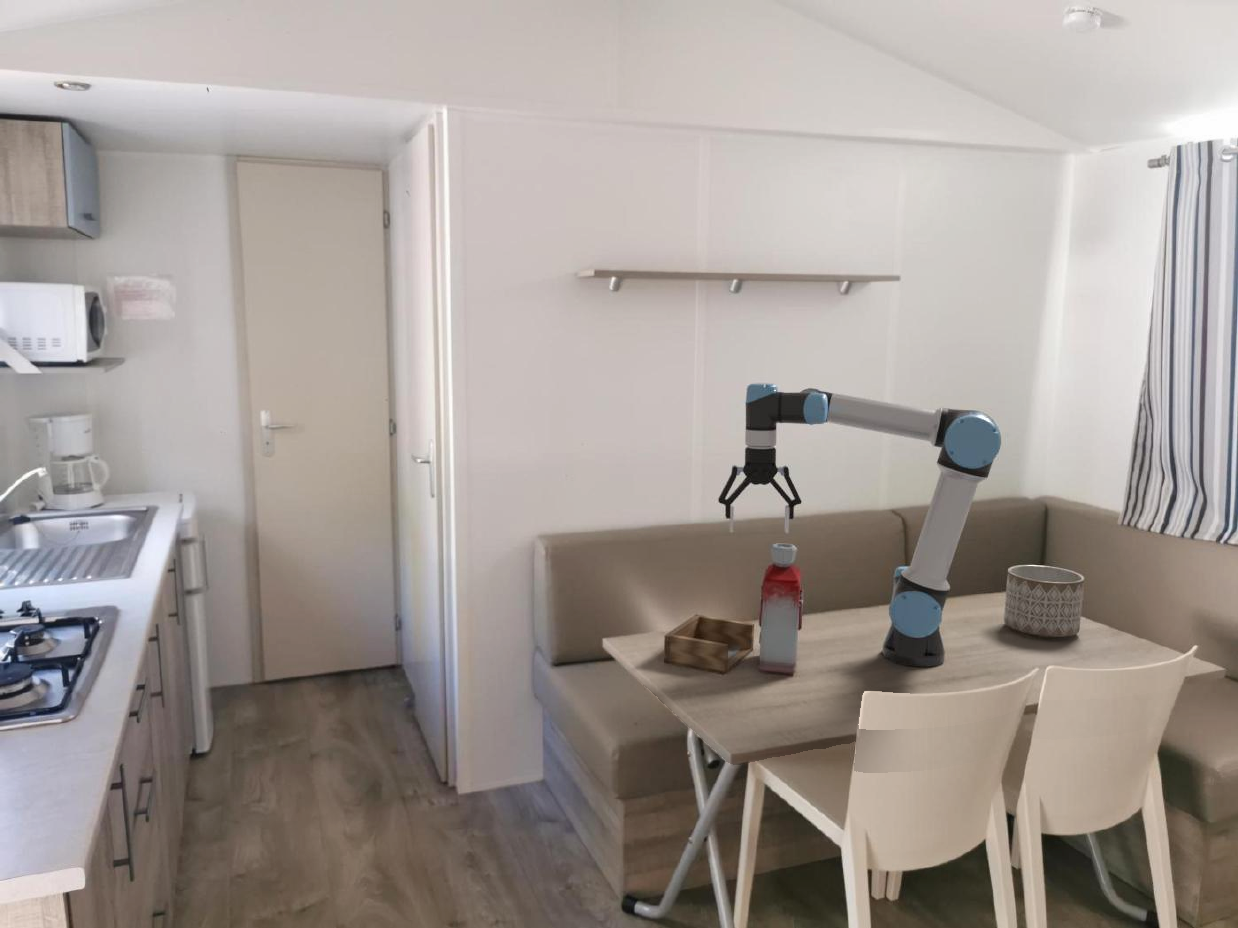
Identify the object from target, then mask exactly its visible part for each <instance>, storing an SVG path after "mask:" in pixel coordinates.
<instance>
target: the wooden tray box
mask: <svg viewBox="0 0 1238 928" xmlns="http://www.w3.org/2000/svg"><path fill="white" fill-rule="evenodd" d="M754 635H755V623H752V622H745V621H740V620H739V621H738V620H733V619H726V618H719V617H714V616H710V615H709V616H707V615H702V614H695V615H692V616H691V617H690V618H689V619H687V620H685V621H684V622H682V623H681V624H680V625H677V626H676V627H675V628H673V629H672V630H671V631H669V632H667V633H666V634H664V644H663V645H664V646H663V647H664V648H663V663H664V664H668V665H674V666H679V667H684V668H689V669H690V668H691V669H694V670H700V671H706V672H709V673H717V674H721V675H726V674H728V672H730V671H731V670H732V669H733V668H734V667H736V666H737V665H738V664H739V663H741V662H742V661H743V660H744V659H745V658H746V657H747V656H748V655H749V654H751V653H752V652H753V651H754V644H755V643H754V642H755V641H754V640H755V639H754V638H755V636H754Z"/></svg>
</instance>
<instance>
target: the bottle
mask: <svg viewBox="0 0 1238 928" xmlns="http://www.w3.org/2000/svg"><path fill="white" fill-rule="evenodd" d="M797 552H798V547H796V546H795V545H794V544H792V543H782V542H781V543H774V544H771V546H770V554H771V560H772V562H773V563H772V564H770V565H768V566H767V568H766V569H765V572H764V575H763V576H764V578H763V580H762V585H761V587H760V594H759V595H760V596H759V616H758V617H759V619H758V626H759V627H760V632H759V637H758V638H759V640H758V643H759V644H760V646H759V662H760V663H759V666H758V667H759V668H758V669H759V670H760V671H761V672H763V673H766V674H779V675H787V676H789V675H790V676H792V675H793V674H794V673H796V671H797V661H798V647H799V645H798V644H799V631H801V630H802V627H803V625H802V624H803V609H804V608H803V605H804V589H803V588H802V587H801V582H802V581H801V580H802V571H800V568H799V567H797V566H796V565H794V563H795V560H796V555H797Z"/></svg>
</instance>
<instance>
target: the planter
mask: <svg viewBox="0 0 1238 928" xmlns="http://www.w3.org/2000/svg"><path fill="white" fill-rule="evenodd" d="M1084 587H1085V576H1083V575H1082V574H1080V573H1079V572H1077V571H1073V570H1070V569H1066V568H1061V567H1057V566H1049V565H1037V564H1019V565H1018V564H1017V565H1013V566H1010V567H1009V568H1008V569H1007V579H1006V589H1005V590H1006V591H1005V602H1004V612H1003V613H1004V614H1003V622H1004V624H1005V625H1006V626H1008V627H1009V628H1011V629H1013V630H1015V631H1019V632H1022V633H1024V634H1027V635H1030V636H1033V635H1034V637H1039V636H1040V637H1039V638H1063V637H1065V638H1066V637H1071V636H1074V635H1077V634H1078V633H1079V632H1080V629H1081V618H1082V617H1081V616H1082V609H1083V597H1084Z"/></svg>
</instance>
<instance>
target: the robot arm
mask: <svg viewBox="0 0 1238 928" xmlns="http://www.w3.org/2000/svg"><path fill="white" fill-rule="evenodd" d="M745 398H746V399H745V434H744V435H745V437H744V438H745V439H744V444H745V445H746V447H745V448H744V465H743V466H737V465H735V464H734V465H732V467H731V474H730V475H729V477H728V479H727V481H726V484H724V487H723V489H722V491H721V493H720V495H719V497H718V499H717V500H718V503H719V504H722V505H723V506H725V509H724V510H725V514H724V515H725V519H728V520H729V533H734V517H735V516H734V515H735V514H734V508H735V507H734V504H733V503H734V502H735V501H736V499H737V498H738V497H739V496H740V495H741V494H742V493H743V491H745V489H746V488H747V487H748V486H749V485H750V484H752V485H754V486H755V485H756V486H758V485H763V486H767V485H769V484H771V485H772V487H773V488H774V489H775V490H776V491H777V492H778V494H779V495H780V496H781V497H782V499H784V501H785V502H786V503H787V505H784V533H785V534H790V520H793V519H794V516H795V515H794V514H795V511H794V510H795V506H798V505H801V504H802V502H803V501H802V499H801V497H800V495H799V492H798V491H797V489H796V487H795V485H794V483H793V481H792V477H790V469H789V467H788V465H784V466H777V448H776V447H775V446H776V445H777V424H796V425H797V424H798V425H799V424H801V425H811V426H812V425H823V424H825V423H829V424H835V425H839V426H844V427H845V426H846V427H851V428H857V429H861V430H867V431H872V432H879V433H884V434H889V435H894V436H900V437H903V438H909V439H915V440H920V441H921V440H922V441H927V442H930V444H931V445H932V446H933V447H936V448H940V452H939V455H938V458H937V461H936V465H937V467H938V468H939V471H940V474H939V476H938V479H937V482H936V486H935V489H934V492H933V494H932V498H931V502H930V504H929V508H928V510H927V513H926V516H925V520H924V521H923V525H922V528H921V532H920V534H919V538H918V540H917V544H916V546H915V550H914V553H913V557H912V559H911V562H910V565H909V566H907V565H905V566H898V567H896V568H895V570H894V575H893V590H892V591H893V592H892V597H891V600H890V604H889V607H888V614H889V615H888V616H889V617H890V621H891V625H890V627H889V630H888V632H887V634H886V636H885V639H884V641H883V643H882V656H883V657H884V658H886V659H887V660H889V661H891V662H893V663H896V664H897V663H898V664H901V665H906V666H910V667H911V666H912V667H935V666H938V665H941V664H943V663H945V658H946V656H945V655H946V651H945V647H944V643H943V640H942V635H941V632H940V625H941V623H942V620H943V610H944V607H945V605H946V601H947V599H948V595H949V592H950V589H951V585H950V584H949V582H948V580H947V577H948V574H949V571H950V568H951V565H952V562H953V560H954V557H955V553H956V550H957V547H958V544H959V541H960V538H961V535H962V533H963V530H964V527H965V524H966V520H967V517H968V515H969V511H970V509H971V506H972V503H973V501H974V498H975V494H976V491H977V488H978V486H979V484H980V483H981V482H983V481H984V480H987V479H988V478H989V474H990V472H991V469H992V465H993V464H994V463H993V462H994V461H995V459H996V457H997V455H998V454H999V452H1000V450H1001V445H1002V435H1001V432H1000V429H999V427H998V425H997V424H996V423H995V421H994V420H993V418H992V417H991V416H989V415H988V414H986V413H984V412H983V411H980V410H971V409H956V408H955V409H954V408H946V407H939V408H938V409H936V410H933V409H928V408H922V407H915V406H910V405H903V404H899V403H892V402H887V401H881V400H874V399H870V398H863V397H857V396H853V395H852V396H851V395H846V394H840V393H834V392H833V393H832V392H828V391H822V390H820V389H817V388H814V387H813V388H811V387H809V388H805V389H802V390H801V391H800V392H784V391H779V390H778V385H777V384H775V383H768V382H767V383H765V382H764V383H763V382H762V383H758V382H756V383H750V384H749V385H748V386H747V387H746V396H745ZM741 473H743V475H744V476H745V478H744V479H743V480H742V482H741V483H740V484H739V485H738V487H736V489H735V490H734V491H733V492H732V493H731V494H730V496H728V493H729V492H730V490H731V488H732V486H733V485H734V483H735V481H736V478H737V476H739V475H741ZM778 473H779V474H780V475H781V476H783V477H784V480H785V483H786V484H787V486H788V488H789V490H790V493H791V494H792V496H793V499H792V498H791V497H790V496H789V495H788V494H787V493H786V491H785V490H784V489H783V488H782V487H781V486H780V484H779V483H778V481H776V479H775V477H776V475H777V474H778ZM727 496H728V498H727Z"/></svg>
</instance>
